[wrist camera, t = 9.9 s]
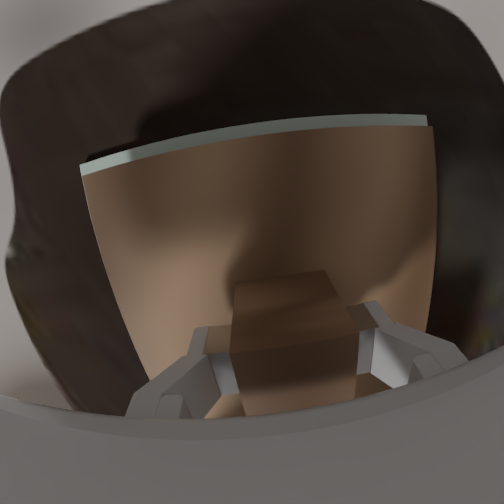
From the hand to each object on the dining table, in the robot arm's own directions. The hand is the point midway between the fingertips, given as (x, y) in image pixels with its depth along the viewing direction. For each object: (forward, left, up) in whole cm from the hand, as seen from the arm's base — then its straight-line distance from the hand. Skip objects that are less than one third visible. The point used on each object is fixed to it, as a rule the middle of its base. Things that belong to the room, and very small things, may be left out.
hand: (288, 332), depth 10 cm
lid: (0, 0, -2) cm, 2 cm away
